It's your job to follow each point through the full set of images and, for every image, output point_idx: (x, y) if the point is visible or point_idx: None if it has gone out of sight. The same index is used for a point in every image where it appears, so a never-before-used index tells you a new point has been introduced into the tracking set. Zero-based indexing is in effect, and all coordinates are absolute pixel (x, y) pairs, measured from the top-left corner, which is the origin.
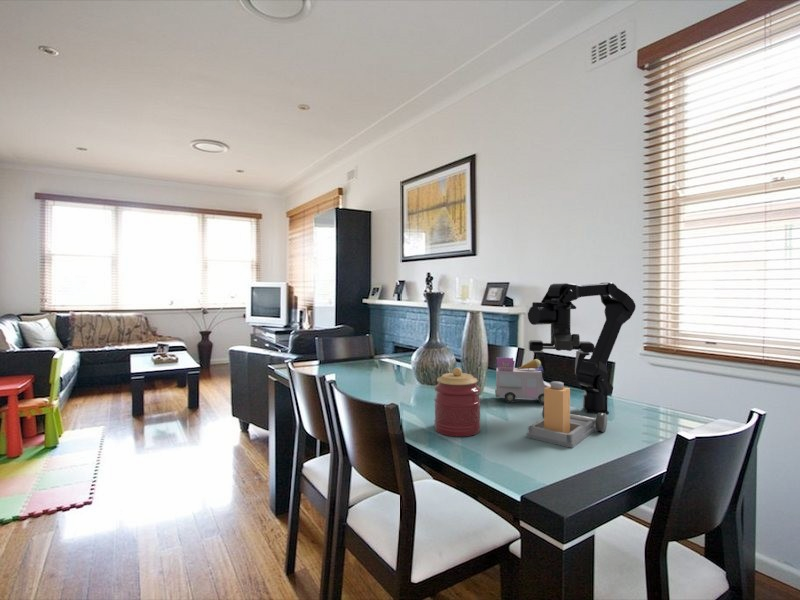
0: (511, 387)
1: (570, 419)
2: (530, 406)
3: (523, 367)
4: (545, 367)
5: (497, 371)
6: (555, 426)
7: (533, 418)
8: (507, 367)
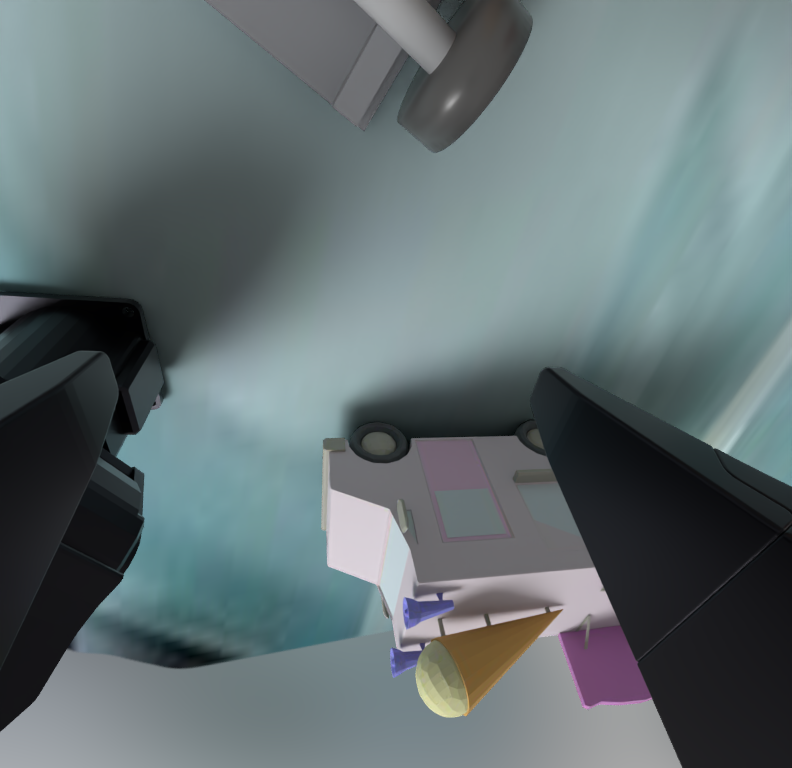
0: None
1: (282, 1)
2: (454, 381)
3: (528, 625)
4: (599, 410)
5: None
6: None
7: (526, 126)
8: None
